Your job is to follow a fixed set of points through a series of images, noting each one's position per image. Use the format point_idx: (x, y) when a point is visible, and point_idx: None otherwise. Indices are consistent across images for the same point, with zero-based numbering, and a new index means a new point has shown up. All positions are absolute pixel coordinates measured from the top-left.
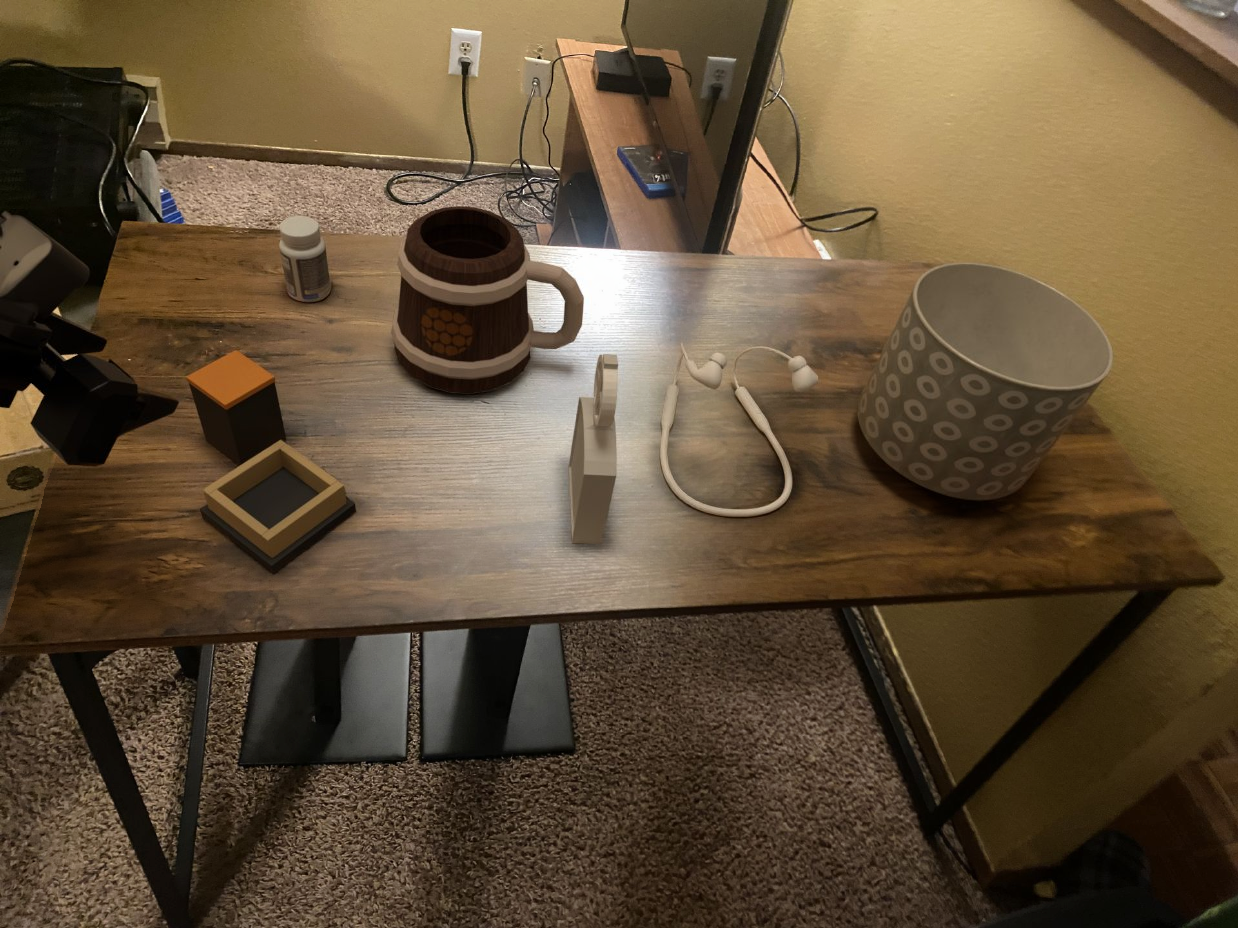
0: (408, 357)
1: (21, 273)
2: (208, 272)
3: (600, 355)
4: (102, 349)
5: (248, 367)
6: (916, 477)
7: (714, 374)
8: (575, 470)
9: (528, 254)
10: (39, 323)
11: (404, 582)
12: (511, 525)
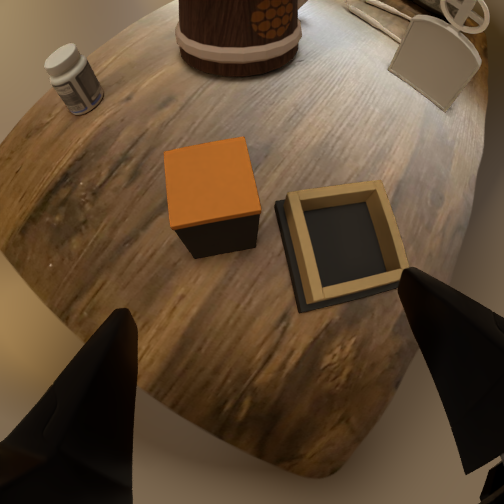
0: (243, 59)
1: None
2: (17, 161)
3: None
4: (135, 325)
5: (206, 152)
6: (454, 15)
7: None
8: (420, 67)
9: None
10: (81, 463)
11: (443, 208)
12: (422, 123)
